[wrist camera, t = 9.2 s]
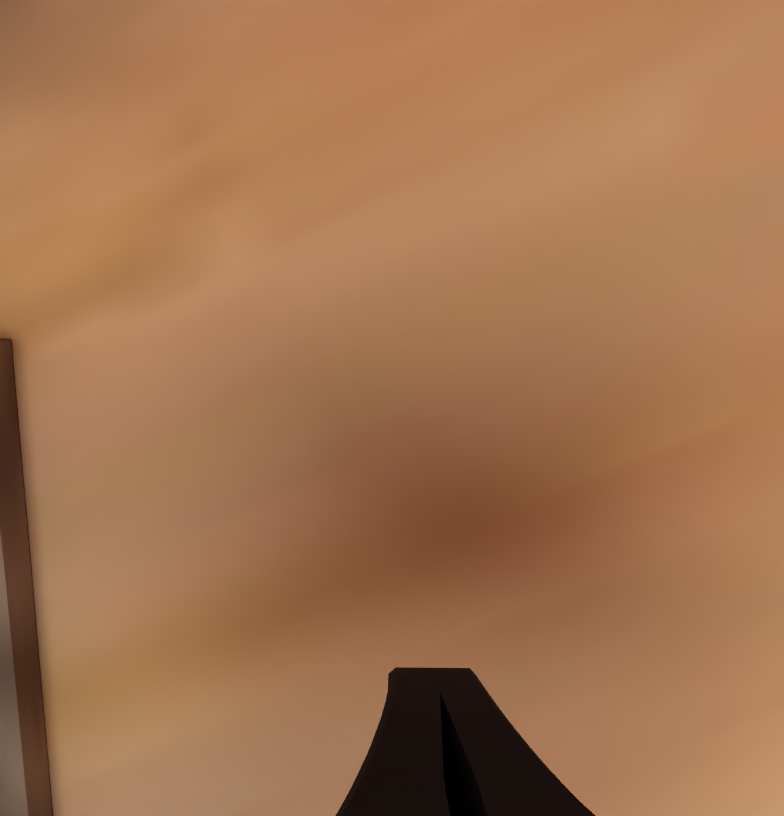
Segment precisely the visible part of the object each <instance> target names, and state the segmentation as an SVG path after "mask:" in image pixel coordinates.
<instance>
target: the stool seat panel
mask: <svg viewBox="0 0 784 816" xmlns="http://www.w3.org/2000/svg"><path fill="white" fill-rule="evenodd" d="M0 816H53V814H52V802H51V791H50V780H49V768H48V757H47V745H46V734H45V722H44V711H43V700H42V688H41V677H40V665H39V654H38V643H37V631H36V620H35V608H34V597H33V586H32V574H31V563H30V551H29V540H28V529H27V517H26V506H25V494H24V483H23V472H22V460H21V449H20V437H19V426H18V414H17V403H16V392H15V380H14V369H13V357H12V346H11V340H6V339H0Z"/></svg>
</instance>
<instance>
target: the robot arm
mask: <svg viewBox="0 0 784 816" xmlns="http://www.w3.org/2000/svg"><path fill="white" fill-rule="evenodd" d="M336 816H595V815H594V814H593V813H592V812H591V811H590V810H589V809H587V808H586V807H585V806H584V805H583V804H582V803H581V802H580V801H579V800H578V799H577V798H576V797H575V796H574V795H573V794H572V793H571V792H570V791H569V790H568V789H567V788H566V787H565V786H564V785H563V784H562V783H561V782H560V780H559V779H558V778H557V777H556V776H555V775H554V774H553V773H552V772H551V771H550V770H549V769H548V768H547V766H546V765H545V764H544V763H543V762H542V761H541V760H540V758H539V757H538V756H537V755H536V754H535V753H534V751H533V750H532V749H531V748H530V747H529V745H528V744H527V743H526V742H525V740H524V739H523V738H522V737H521V736H520V734H519V733H518V732H517V731H516V730H515V728H514V727H513V726H512V724H511V723H510V722H509V721H508V719H507V718H506V717H505V715H504V714H503V713H502V711H501V710H500V709H499V707H498V706H497V705H496V703H495V702H494V700H493V699H492V698H491V696H490V695H489V693H488V692H487V691H486V689H485V688H484V686H483V685H482V683H481V682H480V681H479V679H478V678H477V676H476V675H475V674H474V673H473V671H472V670H471V669H470V668H395V669H394V670H392V671H391V672H390V673H389V678H388V693H387V698H386V702H385V706H384V709H383V713H382V716H381V720H380V722H379V725H378V728H377V730H376V733H375V736H374V739H373V741H372V744H371V747H370V749H369V751H368V754H367V756H366V758H365V760H364V762H363V764H362V766H361V769H360V771H359V773H358V775H357V777H356V779H355V781H354V783H353V785H352V787H351V789H350V791H349V793H348V795H347V797H346V799H345V800H344V802H343V804H342V806H341V807H340V809H339V811H338V813H337V814H336Z"/></svg>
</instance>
